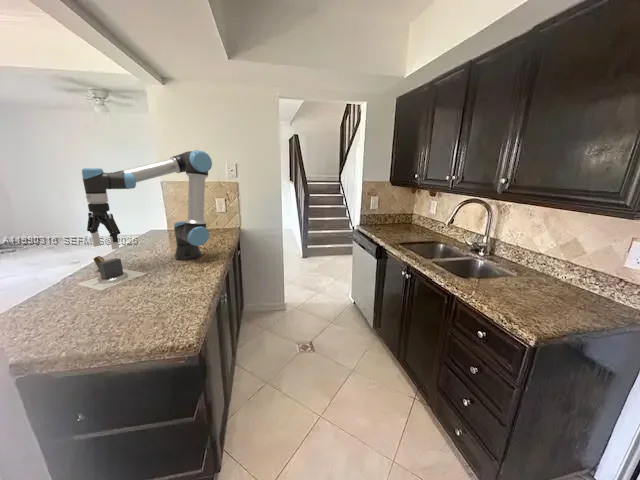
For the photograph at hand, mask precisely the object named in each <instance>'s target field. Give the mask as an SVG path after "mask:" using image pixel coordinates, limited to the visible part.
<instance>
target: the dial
mask: <svg viewBox="0 0 640 480" xmlns="http://www.w3.org/2000/svg"><path fill="white" fill-rule="evenodd" d="M98 264H99V269H100V271H99V272H100V273H99V274H100V276H98V277H99V278H98V279H97V281H98V282H99V283H112V282H117V281H120V280H123V279H125V278H127V277H128V274H127V273H126V272H123V269H124V268H123V265H122V264H123V263H122V260H121V258H117V257H116V258H115V257H114V258H113V259H109V260H105V261H104V262H100V263H98ZM99 269H98V270H99Z"/></svg>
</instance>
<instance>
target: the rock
mask: <svg viewBox="0 0 640 480" xmlns="http://www.w3.org/2000/svg"><path fill="white" fill-rule="evenodd" d="M93 261H94V262H95V263H94V264H95V265H96V266H97V268H98V270H99V272H100V269H99V264H98V263H100V262H104V261H106V260H105V258H103V256H100V255H98V256H95V257H94V258H93Z"/></svg>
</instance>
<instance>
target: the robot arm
mask: <svg viewBox="0 0 640 480" xmlns="http://www.w3.org/2000/svg"><path fill="white" fill-rule="evenodd" d="M212 166H213V161H212V158H211V156H210V154H208V153H206V152H205V151H204V150H197V149H196V150H191V151H189V150H188V151H185V152H182V153H180V154H176V155H173V156H170V158H169V159H164V160H160V161H156V162H153V163H147V164H143V165H138V166H135V167H131V168H127V169H126V168H125V169H122V170H118V171H113V172H104V170H103V168H100V167H99V168H94V167H93V168H91V167H90V168H89V167H88V168H87V167H85V168H82V169H81V175H82V182H83V188H84V191H85V198H86V202H87V203H88V204H87V207H88V213H87V215H88V220H87V226H86V227H87V228H86V230H87V232H89V233H90V234H91V235H90V236H91V240H92V244H93V247H99V246H101V245H102V244H101V239H100V233H99V227H100V224H101V225H102V226H104V227H105V229H106V230H107V231H108V233H109V240H110V246H111V250H113V251H114V250H117V249H120V245H119V239H118V236H119V235H120V234H121V231H120V229H119V227H118V225H117V222H116V220H115V219H114V215H113V213H108V212H110V205H109V204H110V203H109V199H108V198H109V197H108V192H107V190H130V189H131V190H132V189H135V188H136V187H137V183H139V182H140V183H141V182H143V181H147V180H151V179H155V178H159V177H162V176H167V175H170V174H174V173H176V174H180V173H185V175H187V177H188V190H187V191H188V196H187V200H188V201H187V219H186V220H184V221H177V222H174V224H173V228H174V235H175V237H174V238H175V243H176V250H175V253H174V259H175V260H176V261H177V260H178V261H189V260H194V259H198V258H200V257H202V251H201V249H200V247H201V246H203V245H204V244H206V243H207V242H208V241H209V239H210V232H209V230H208V229H207V222H206V221H205V220H204V219H205V197H206V196H205V192H206V191H205V189H206V179H207V178H208V177H209V171H210V170H211V169H212ZM199 246H200V247H199Z"/></svg>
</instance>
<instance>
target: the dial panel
mask: <svg viewBox="0 0 640 480" xmlns="http://www.w3.org/2000/svg"><path fill="white" fill-rule="evenodd" d="M122 269H123V272H126V273H127V274H128V277H127V278H125V279H123V280H120V281H117V282H112V283H99V282H98V281H97V279H98V278H99V277H100V276H97V277H94V278H92V279H88V280H84V281H81V282H77V283H76V285H78V286H82V287H85V288H90V289H93V290H97V291H102V290H105V289H108V288H110V287H115V286H116V285H119V284H122V283H125V282H128V281H131V280H133V279H136V278H139V277H141V276H144V275H147V273H146V272H140V271H135V270H131V269H125V268H122Z"/></svg>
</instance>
